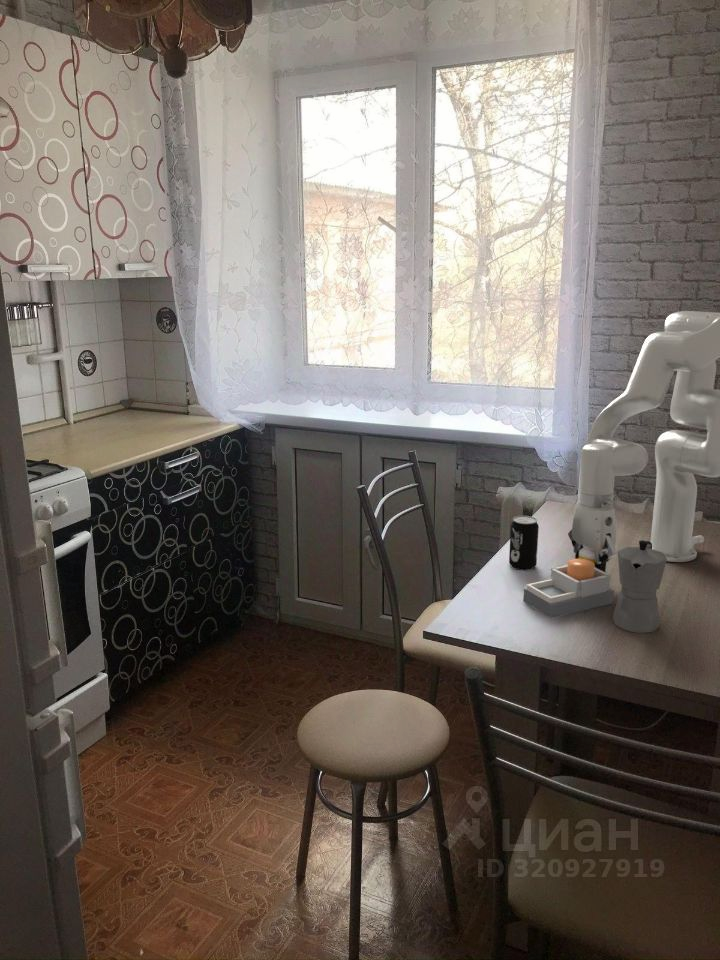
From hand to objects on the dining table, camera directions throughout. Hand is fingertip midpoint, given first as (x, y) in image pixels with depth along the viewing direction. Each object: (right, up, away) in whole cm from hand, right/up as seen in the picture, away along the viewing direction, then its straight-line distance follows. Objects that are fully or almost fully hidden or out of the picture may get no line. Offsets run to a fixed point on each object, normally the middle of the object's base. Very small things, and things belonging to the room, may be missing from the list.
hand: (589, 572), depth 180 cm
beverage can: (-13, 0, +10) cm, 17 cm away
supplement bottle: (0, -2, +1) cm, 2 cm away
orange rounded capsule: (-5, -2, -10) cm, 11 cm away
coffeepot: (+4, -8, -20) cm, 22 cm away
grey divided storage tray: (-8, -5, -10) cm, 14 cm away
